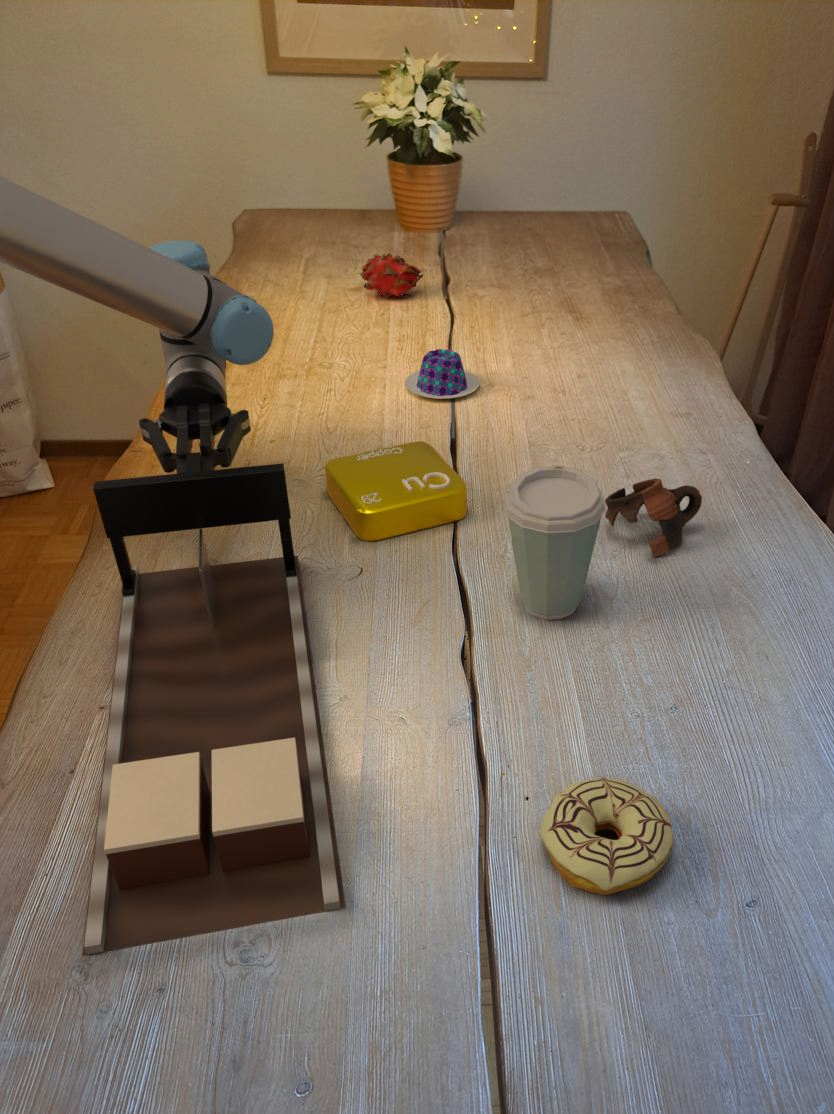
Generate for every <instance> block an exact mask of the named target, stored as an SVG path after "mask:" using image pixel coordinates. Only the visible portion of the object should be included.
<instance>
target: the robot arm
mask: <svg viewBox="0 0 834 1114" xmlns="http://www.w3.org/2000/svg"><path fill="white" fill-rule="evenodd" d="M0 264H4V265H6V266H8V267H11V268H12V269H15V270H18V271H21V272H22V273H26V274H28V275H30V276H33V277H34V278H38V279H40V280H42V281H45V282H47V283H49V284H52V285H55V286H56V287H59V288H62V289H64V290H67V291H69V292H71V293H73V294H76V295H79V296H81V297H83V298H86V299H87V300H91V301H93V302H95V303H98V304H100V305H102V306H105V307H107V308H110V309H113V310H114V311H117V312H120V313H122V314H125V315H127V316H129V317H130V318H131V317H132V318H134V319H136V320H138V321H141V322H144V323H146V324H148V325H151V326H152V327H153V326H154V327H156V328H158V332H159V337H160V343H161V348H162V353H163V358H164V362H165V371H166V372H165V383H164V384H165V385H164V400H163V411H162V412H161V413H159V415H158V419H153V420H151V419H150V418H147V417H143V418H140V419H138V424H139V428H140V432H141V437H142V441H144V442H145V443H147V444H149V445H150V446H151V447H152V449H153V451H154V453H155V455H156V459H157V460H158V462H159V464H160V466H161V469H162V470H163V472H164V473H166V474H168V473H169V474H172V473H173V472H175V471H176V474H178V473H188V472H199V471H209V470H216V467H218V466H219V467H220V468H223V469H227V468H230V467H231V466H232V464H233V462H234V459H235V456H236V454H237V452H238V449H239V447H240V445H241V443H242V441H243V439H244V438H245V436H246V435H248V434H249V433H251V431H252V428H251V427H252V426H251V419H250V414H249V410H247V409H240V410H238V411H237V412H236V413H232V410H231V409H230V408H229V407H228V393H227V391H228V390H227V380H226V369H227V362H230V363H231V364H234V365H238V366H248V365H252V364H255V363H257V362H258V361H260V360H261V359H263V358H264V356H266V355H267V353H268V351H269V350H270V348H271V346H272V343H273V340H274V336H275V335H274V334H275V329H274V328H275V327H274V323H273V322H274V321H273V320H272V318H271V316H270V313H269V312H268V311H267V310H266V308H264V307H263V306H262V305H261V304H259V303H258V302H257V300H256V299H254V298H253V297H251V296H249V295H247V294H246V295H245V294H243V293H242V292H241V291H239V290H237V289H235V288H234V287H231V286H230V285H228V284H227V283H226V282H224V281H222V280H221V279H220V278H218V277H216V276H215V275H212V274H211V264H210V262H209V259H208V256H207V253H206V249H205V248H204V246H202V245H201V244H200V243H198V242H195V241H191V240H181V239H180V240H167V241H162V242H158V243H155V244H154V245H151V246H150V247H148V246H145V245H143V244H142V243H139V242H138V241H135V240H133V239H131V238H129V237H127V236H125V235H123V234H121V233H119V232H117V231H115V230H112V229H111V228H109V227H107V226H104V225H103V224H100V223H98V222H96V221H94V220H92V219H91V218H88V217H86V216H84V215H82V214H80V213H78V212H76V211H74V210H71V209H69V208H67V207H65V206H63V205H61V204H59V203H57V202H55V201H53V200H51V199H49V198H47V197H45V196H43V195H41V194H39V193H37V192H35V191H33V190H31V189H29V188H27V187H24V186H22V185H21V184H18V183H16V182H14V181H12V180H10V179H8V178H6V177H4V176H1V175H0ZM164 433H167V434H168V435H170V436H172V437H174V438H176V445H175V447H176V449H175V452H172V450H171V448H170V446H169V444H168V442H167V440H166V438H165V436H164ZM220 433H221V436H220V438H219V441H218V442H217V444H215V441H216V440H215V438H216V436H218V435H219V434H220ZM195 440H199V444H198V447H199V451H198V452H193V445H194V441H195ZM215 447H216V448H215Z"/></svg>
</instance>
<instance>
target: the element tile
mask: <svg viewBox="0 0 834 1114" xmlns="http://www.w3.org/2000/svg"><path fill="white" fill-rule="evenodd" d="M324 473H325V484H326V492H327V495H328V496H329V498H330V499H331V501H332V502H333V504H334V505H335V507H336V508H337V510H338V511H339V512H340V514H341V516H342V518H343V519H344V520H345V522H346V523H347V524H348V525H349V527H350V528H351V530H352V532H353V533H354V534H355V536H356V537H357V538H358V539H361V540H362V541H365V542H372V541H373V542H376V541H380V540H385V539H388V538H393V537H397V536H401V535H405V534H409V533H413V532H418V531H421V530H425V529H429V528H433V527H434V528H435V527H437V526H441V525H447V524H450V523H453V522H457V521H460V520H462V519H464V518H465V517H466V516H467V513H468V485H467V483H466V482H465V481H464V479H463V478H462V477H461V476H460V475H459V474H458V472H456V470H454V469H453V467H451V465H450V464H449V463H448V462H447V460H445V459H444V457H442V455H441V454H440V453H439V452H438V451H437V450H436V449H435V448H434V446H433V445H431V444H430V443H427V442H426V441H423V440H419V441H410V442H407V443H402V444H397V445H392V446H391V445H390V446H388V447H382V448H377V449H373V450H368V451H364V452H359V453H358V452H357V453H354V454H349V455H344V456H339V457H334V458H332V459H330V460H328V461H326V463H324Z"/></svg>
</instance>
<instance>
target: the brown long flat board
mask: <svg viewBox="0 0 834 1114" xmlns="http://www.w3.org/2000/svg"><path fill="white" fill-rule="evenodd" d="M293 550H294V548H293ZM294 551H295V550H294ZM294 557H295V565H296V572H297V576H289V577H286V572H285V564H284V557H283V556H280V557H272V558H263V559H255V560H254V559H253V560H246V561H245V560H244V561H237V562H228V563H222V564H221V563H220V564H211V565H210V564H209V565H210V569H211V574H212V579H213V584H214V629H211V624H210V620H209V615H208V610H207V606H206V601H205V597H204V592H203V587H202V583H201V578H200V574H199V566H194V567H186V568H185V567H184V568H176V569H168V570H158V571H151V572H141V573H140V571H139V568H138V567H139V566H132V570H135V572H136V581H135V591H134V595H128V596H123V595H122V597H121V598H122V600H121V608H120V615H119V627H118V632H117V633H118V635H117V643H116V652H115V661H114V668H113V677H112V678H113V679H112V687H111V694H110V695H111V697H110V704H109V705H110V706H109V712H108V713H109V714H108V723H107V730H106V740H105V748H104V757H103V765H102V774H101V776H102V777H101V784H100V793H99V804H98V812H97V818H96V827H95V828H96V829H95V837H94V845H93V846H94V847H93V855H92V857H93V858H92V863H91V864H92V865H91V872H90V882H89V891H88V898H87V907H86V908H87V909H86V915H85V926H84V934H83V943H82V952H81V953H82V954H81V957H86V956H91V955H96V954H103V953H108V952H114V951H120V950H123V949H129V948H135V947H141V946H147V945H151V944H156V943H162V942H168V941H172V940H173V941H174V940H178V939H183V938H189V937H195V936H201V935H206V934H210V933H212V934H213V933H216V932H223V931H228V930H234V929H239V928H244V927H249V926H255V925H260V924H266V923H271V922H278V921H282V920H287V919H292V918H298V917H304V916H310V915H315V914H321V913H326V912H327V913H328V912H333V911H337V910H341V909H346V899H345V893H344V892H345V891H344V885H343V879H342V878H343V877H342V871H341V863H340V856H339V847H338V842H337V834H336V833H337V832H336V827H335V819H334V812H333V804H332V797H331V789H330V781H329V775H328V768H327V767H328V766H327V759H326V751H325V746H324V739H323V731H322V723H321V716H320V708H319V702H318V694H317V687H316V680H315V673H314V664H313V655H312V650H311V642H310V634H309V626H308V620H307V613H306V606H305V599H304V590H303V582H302V576H301V568H300V562H299V561H300V560H299V556H298V555H294ZM288 738H295V740H296V746H297V752H298V758H299V765H300V771H301V777H302V786H303V796H304V805H305V814H306V824H307V833H308V842H309V852H310V856H309V857H304V858H298V859H292V860H286V861H280V862H275V863H269V864H263V865H257V866H251V867H246V868H240V869H234V870H228V871H223V870H222V867H221V863H220V859H219V856H218V852H217V848H216V844H215V840H214V836H213V833H212V750H214V749H221V748H228V747H235V746H241V745H248V744H255V743H261V742H268V741H275V740H282V739H288ZM195 752H199V753H200V757H201V761H202V764H203V768H204V772H205V776H206V780H207V784H208V788H209V814H210V874H206V875H200V876H194V877H188V878H183V879H177V880H171V881H165V882H159V883H154V884H148V885H142V886H136V887H130V888H124V889H119V887H118V885H117V882H116V880H115V877H114V874H113V872H112V869H111V867H110V864H109V861H108V859H107V856H106V853H105V851H104V845H105V835H106V825H107V816H108V806H109V796H110V787H111V777H112V767H113V765H114V764H121V763H127V762H134V761H141V760H148V759H154V758H161V757H168V756H174V755H181V754H188V753H195Z"/></svg>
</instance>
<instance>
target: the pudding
mask: <svg viewBox="0 0 834 1114" xmlns="http://www.w3.org/2000/svg"><path fill="white" fill-rule="evenodd" d="M480 383H481V381H480V379H479V377H478V376H477V375H476V374H474V373H473V372H471V371H469V370H466V369H465V368H464V365H463V361H462V357H461V355H460V353H458V352H456V351H453V350H452V349H443V348H438V349H435V350H428V351H427V352H426V353H425V354H424V355H423V357H422V360H421V364H420V369H419V370H417V371H415V372H412V373H411V374H409V375H408V376H407V377H406V378H405V380H404V386H405V388H406V389H407V390H408V391H409V392H411V393H413V394H415V395H417V396H420V397H424V398H430V399H439V400H440V399H454V398H455V399H456V398H460V397H464V396H468V395H469V394H471V393H473V392H475V391H477V389H479V387H480V385H481V384H480Z"/></svg>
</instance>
